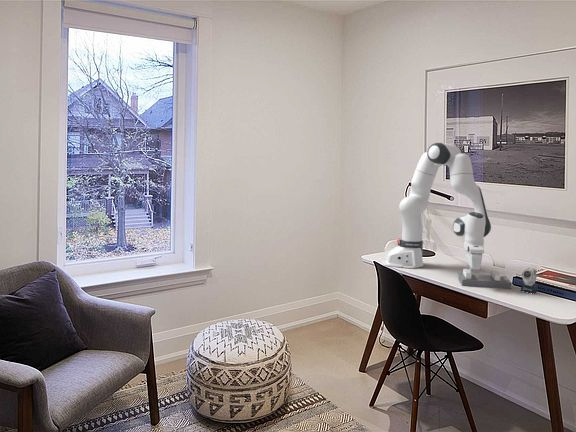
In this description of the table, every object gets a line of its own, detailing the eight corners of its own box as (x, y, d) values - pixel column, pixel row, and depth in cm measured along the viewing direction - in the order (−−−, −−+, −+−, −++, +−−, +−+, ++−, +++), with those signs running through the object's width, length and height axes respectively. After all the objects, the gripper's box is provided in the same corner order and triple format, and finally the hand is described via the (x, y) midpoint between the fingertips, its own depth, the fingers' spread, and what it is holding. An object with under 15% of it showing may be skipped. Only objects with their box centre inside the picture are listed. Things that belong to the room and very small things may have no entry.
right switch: (494, 280, 233) (495, 274, 232) (490, 275, 241) (491, 270, 241) (500, 280, 232) (500, 275, 232) (495, 276, 241) (496, 270, 240)
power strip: (462, 285, 234) (462, 279, 234) (458, 279, 246) (458, 273, 245) (511, 288, 230) (511, 282, 230) (504, 282, 242) (505, 276, 241)
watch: (518, 291, 226) (520, 268, 224) (527, 289, 231) (529, 266, 229) (530, 294, 221) (532, 271, 220) (539, 292, 226) (541, 268, 225)
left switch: (465, 278, 235) (466, 273, 235) (462, 273, 244) (463, 268, 243) (471, 278, 234) (471, 273, 234) (468, 274, 243) (468, 268, 243)
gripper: (463, 241, 247) (461, 268, 249) (470, 250, 227) (468, 279, 229) (476, 242, 246) (474, 269, 248) (484, 251, 226) (482, 280, 228)
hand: (471, 274), depth 239 cm, fingers closed, pressing on left switch
